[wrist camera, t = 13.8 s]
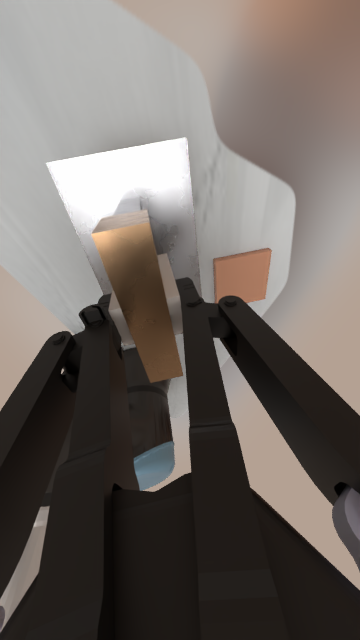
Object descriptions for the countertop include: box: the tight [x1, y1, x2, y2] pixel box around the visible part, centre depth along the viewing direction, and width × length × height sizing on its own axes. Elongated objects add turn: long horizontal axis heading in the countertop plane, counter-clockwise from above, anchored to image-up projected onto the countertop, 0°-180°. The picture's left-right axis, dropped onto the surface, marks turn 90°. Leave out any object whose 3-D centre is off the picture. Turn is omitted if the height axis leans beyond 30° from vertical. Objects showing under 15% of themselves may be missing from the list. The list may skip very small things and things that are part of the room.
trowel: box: [46, 137, 202, 383], centre depth 16 cm, size 16×10×11 cm, turn 8°
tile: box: [213, 248, 272, 303], centre depth 39 cm, size 2×10×10 cm
